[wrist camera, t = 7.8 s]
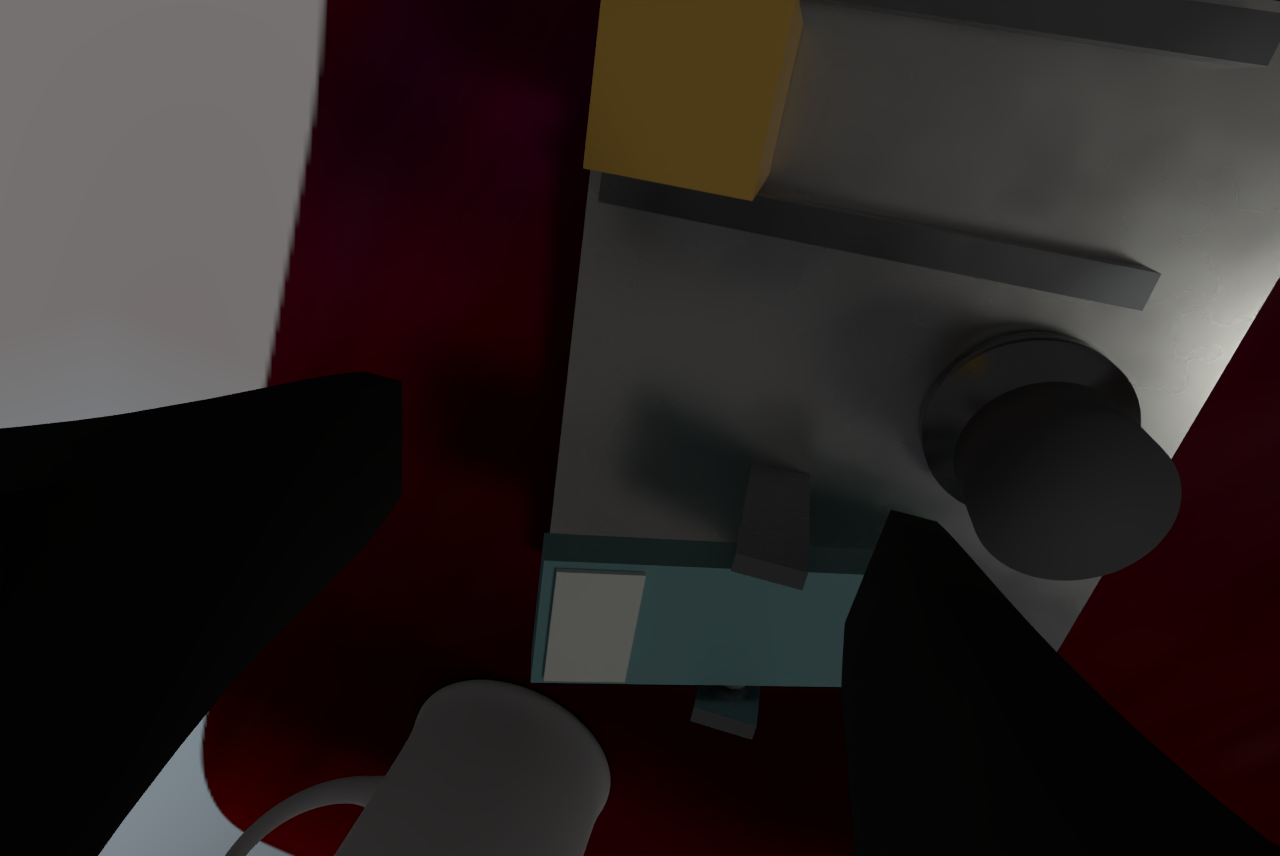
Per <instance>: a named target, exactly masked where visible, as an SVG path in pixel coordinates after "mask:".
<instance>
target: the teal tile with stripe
mask: <svg viewBox="0 0 1280 856" xmlns="http://www.w3.org/2000/svg"><path fill="white" fill-rule="evenodd" d="M735 546H736V543H733V542H714V541H694V540H675V539H655V538H636V537H616V536H597V535H577V534H558V533H544V540H543V549H542V559H541V568H540V578H539V587H538V596H537V606H536V615H535V624H534V634H533V643H532V655H531V683H599V684H671V685H723V686H725V687H727V688H730V689H741V688H743V687H745V686H816V687H841V681H842V657H843V642H844V626H845V621H846V618H847V616H848V613H849V611H850V608H851V606H852V604H853V601H854V599H855V596H856V594H857V591H858V589H859V586H860V584H861V581H862V579H863V576H864V574H865V572H866V569H867V567H868V564H869V562H870V559H871V557H872V554H873V552H874V550H869V549H850V548H831V547H811V546H809V567H808V575H807V578H806V581H805V584H804V587H803V590H798V589H795V588H791V587H787V586H784V585H780V584H776V583H773V582H769V581H765V580H761V579H758V578H754V577H750V576H747V575H743V574H739V573H736V572H732V571H731V567H732V562H733V556H734V551H735Z"/></svg>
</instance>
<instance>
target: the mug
mask: <svg viewBox="0 0 1280 856" xmlns="http://www.w3.org/2000/svg"><path fill="white" fill-rule="evenodd" d="M609 790H610V771H609V766H608V763H607V760H606V757H605V755H604V752H603V750H602V749H601V747H600V745H599V743H598V742H597V740H596V739H595V737H594V736H593V735H592V733H591V732H590V731H589V730H588V729H587V728H586V726H585V725H584V724H583V723H582V722H581V721H580V720H579V719H577V718H576V717H575V716H574V715H573V714H572V713H570V712H569V711H568V710H566V709H565V708H564V707H562V706H561V705H559V704H558V703H556V702H555V701H553V700H551V699H549V698H548V697H546V696H544V695H542V694H540V693H537V692H535V691H533V690H530V689H528V688H525V687H522V686H519V685H515V684H511V683H507V682H502V681H495V680H468V681H462V682H457V683H454V684H451V685H448V686H446V687H444V688H442V689H440V690H439V691H437V692H436V693H434V694H433V695H432V696H431V697H430V698H429V699H428V700H427V701H426V702H425V703H424V705H423V706H422V708H421V710H420V712H419V714H418V716H417V719H416V722H415V725H414V728H413V730H412V732H411V734H410V736H409V738H408V740H407V742H406V743H405V745H404V747H403V748H402V750H401V752H400V753H399V755H398V756H397V758H396V760H395V761H394V763H393V764H392V766H391V768H390V769H389V771H388V772H387V774H386V776H355V777H346V778H341V779H336V780H331V781H328V782H324V783H321V784H318V785H315V786H312V787H310V788H307V789H305V790H303V791H301V792H299V793H297V794H295V795H293V796H291V797H289V798H287V799H286V800H284V801H282V802H281V803H279V804H278V805H276V806H275V807H273V808H272V809H270V810H269V811H268V812H266V813H265V814H264V815H263V816H261V817H260V818H259V819H258V820H257V821H256V822H254V823H253V824H252V825H251V826H250V827H249V828H248V829H247V830H246V831H245V832H244V833H243V834H242V835H241V836H240V838H239V839H238V840H237V841H236V842H235V843H234V845H233V846H232V847H231V849H230V850H229V851H228V852H227V854H226V855H225V856H246V855H247V854H248V852H249V851H250V850H251V849H252V848H253V847H254V846H255V845H256V844H257V843H258V842H259V841H260V840H261V839H262V838H263V837H265V836H266V835H267V834H268V833H269V832H271V831H272V830H273V829H275V828H276V827H278V826H279V825H281V824H282V823H284V822H285V821H287V820H289V819H291V818H292V817H294V816H296V815H298V814H301V813H303V812H305V811H308V810H311V809H314V808H317V807H321V806H325V805H331V804H340V803H350V804H357V805H360V806H363V807H365V808H364V810H363V812H362V813H361V815H360V816H359V818H358V819H357V821H356V822H355V824H354V826H353V827H352V829H351V830H350V832H349V833H348V835H347V837H346V838H345V840H344V841H343V843H342V844H341V846H340V848H339V849H338V851H337V852H336V854H335V855H334V856H583V855H584V852H585V849H586V846H587V843H588V840H589V837H590V834H591V831H592V828H593V826H594V823H595V821H596V819H597V817H598V815H599V814H600V812H601V811H602V809H603V807H604V805H605V803H606V801H607V798H608V795H609Z"/></svg>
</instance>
